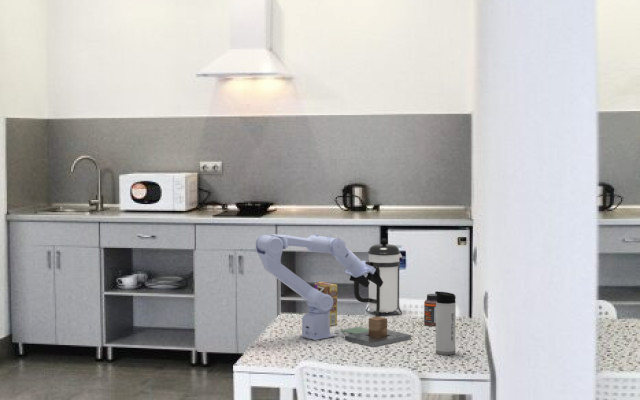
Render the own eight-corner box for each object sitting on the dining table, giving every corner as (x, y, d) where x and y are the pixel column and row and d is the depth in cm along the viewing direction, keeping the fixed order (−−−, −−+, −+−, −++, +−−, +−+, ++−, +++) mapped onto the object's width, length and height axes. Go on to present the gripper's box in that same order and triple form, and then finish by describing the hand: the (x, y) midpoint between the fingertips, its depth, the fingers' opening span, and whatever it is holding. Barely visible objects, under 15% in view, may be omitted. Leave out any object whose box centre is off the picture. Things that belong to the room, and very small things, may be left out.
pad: (358, 335, 320) (358, 334, 320) (341, 331, 326) (341, 330, 326) (376, 331, 325) (376, 330, 325) (359, 327, 332) (359, 326, 332)
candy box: (338, 324, 337) (338, 284, 336) (329, 326, 335) (329, 285, 334) (322, 321, 344) (322, 281, 343) (314, 322, 342) (314, 282, 341)
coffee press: (372, 308, 370) (373, 235, 368) (408, 312, 362) (409, 237, 360) (353, 315, 355) (353, 239, 353) (390, 319, 347) (390, 241, 345)
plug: (377, 341, 310) (377, 320, 309) (368, 339, 313) (368, 318, 312) (387, 339, 312) (387, 318, 312) (378, 337, 316) (378, 316, 315)
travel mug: (433, 350, 297) (434, 290, 295) (454, 350, 296) (454, 290, 295) (435, 355, 290) (436, 293, 289) (456, 355, 290) (456, 293, 289)
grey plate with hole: (373, 347, 302) (373, 342, 301) (344, 340, 312) (344, 335, 312) (410, 339, 313) (410, 334, 313) (382, 332, 324) (382, 328, 324)
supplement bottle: (420, 324, 338) (420, 294, 337) (430, 322, 342) (430, 292, 341) (433, 326, 334) (433, 296, 333) (443, 324, 338) (443, 294, 337)
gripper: (368, 251, 318) (392, 275, 324) (343, 254, 330) (366, 276, 335) (359, 267, 315) (384, 291, 320) (334, 269, 327) (358, 292, 332)
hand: (374, 284), depth 328 cm, fingers open, 7 cm apart
